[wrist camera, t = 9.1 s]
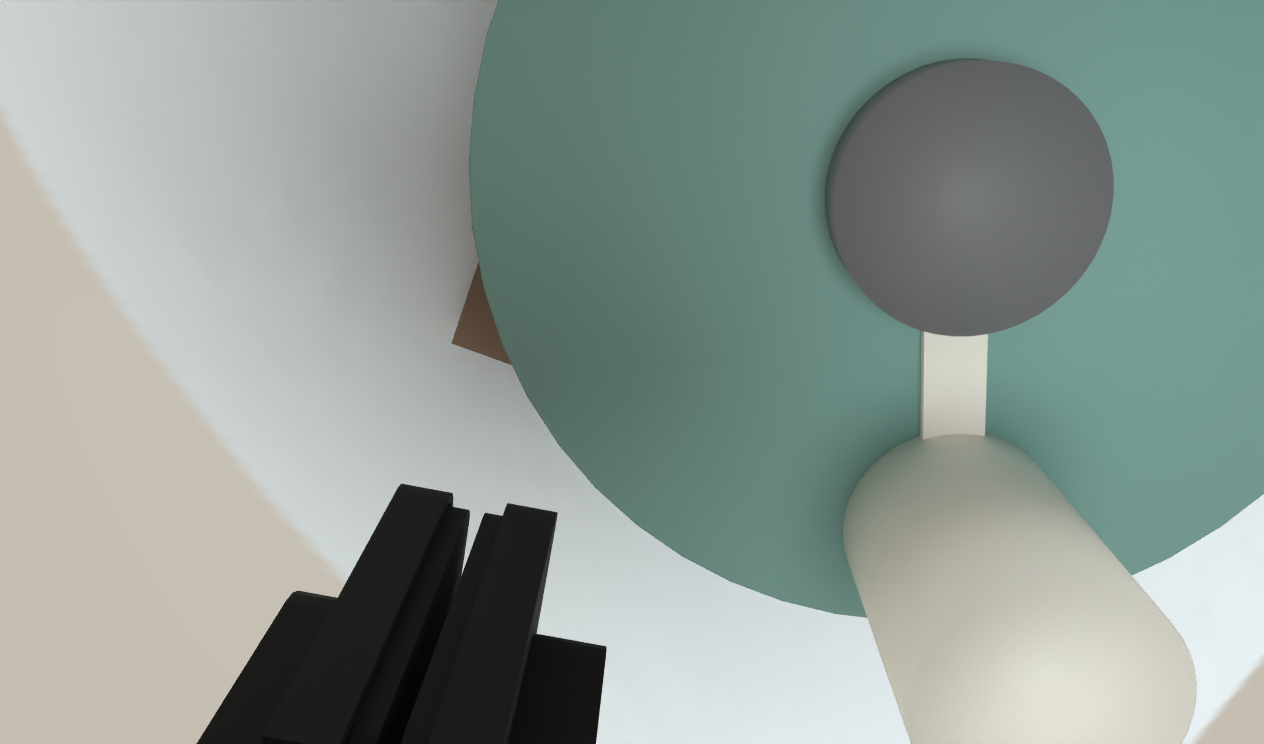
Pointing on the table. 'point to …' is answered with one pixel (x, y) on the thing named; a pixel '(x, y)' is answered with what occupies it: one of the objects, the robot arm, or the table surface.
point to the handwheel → (900, 315)
